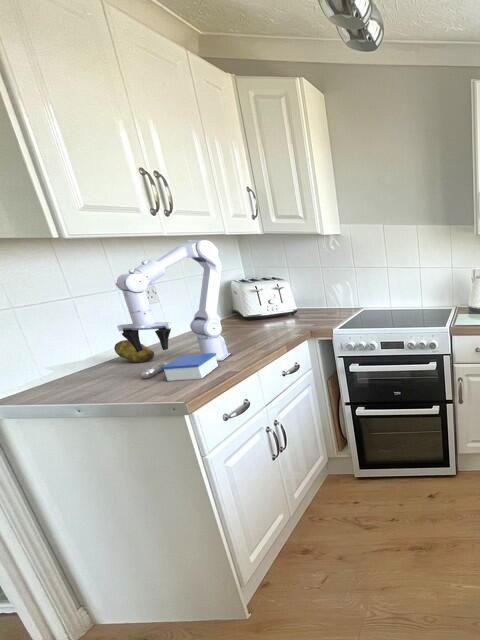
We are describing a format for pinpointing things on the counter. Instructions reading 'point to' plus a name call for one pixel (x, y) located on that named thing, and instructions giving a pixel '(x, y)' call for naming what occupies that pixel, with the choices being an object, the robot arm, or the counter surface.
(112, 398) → the counter surface
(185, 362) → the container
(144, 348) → the potato
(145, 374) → the spoon
